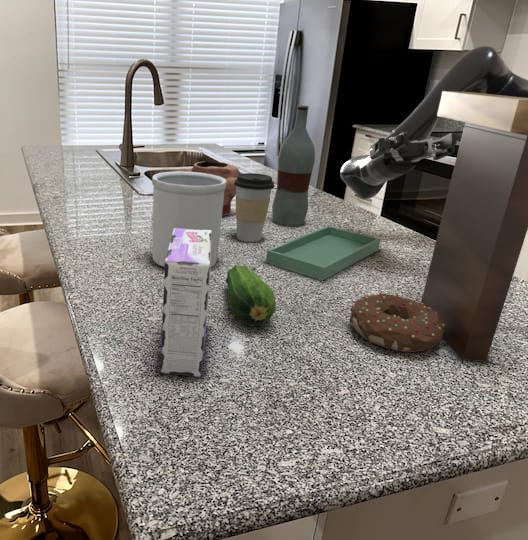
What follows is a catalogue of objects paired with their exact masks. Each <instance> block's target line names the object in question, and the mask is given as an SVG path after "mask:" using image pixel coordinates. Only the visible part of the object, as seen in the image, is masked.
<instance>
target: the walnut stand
mask: <svg viewBox="0 0 528 540" xmlns="http://www.w3.org/2000/svg"><path fill="white" fill-rule="evenodd" d="M527 233H528V133H517V132H507V131H503V130H498V129H494V128H489V127H484V126H480V125H475V124H471V123H466V122H464V126H463V130H462V135H461V138H460V141H459V146H458V150H457V155H456V159H455V161H454V167H453V171H452V175H451V179H450V183H449V186H448V191H447V195H446V199H445V203H444V207H443V211H442V215H441V219H440V223H439V227H438V232H437V236H436V239H435V242H434V243H435V245H434V247H433V252H432V256H431V259H430V264H429V267H428V272H427V276H426V279H425V285H424V289H423V293H422V296H421V300H420V303H423V305H426V306H427V307H430V308H431V310H433V311H435V312H437V314H438V315H439V317H440V319H441V320H442V322H443V324H444V328H445V330H444V333H443V337H442V340H443V341H445V343H446V344H447V345H448V346H449V347H450V349H452V350H453V351H454V353H456V355H457V356H458V357H459V359H461V360H462V361H474V362H487V360H488V357H489V353H490V351H491V347H492V345H493V344H492V343H493V341H494V338H495V334H496V332H497V328H498V325H499V321H500V318H501V316H502V312H503V310H504V306H505V304H506V300H507V297H508V294H509V291H510V287H511V285H512V281H513V277H514V274H515V271H516V267H517V265H518V261H519V258H520V255H521V252H522V249H523V245H524V242H525V239H526V236H527Z"/></svg>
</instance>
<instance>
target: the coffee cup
mask: <svg viewBox="0 0 528 540" xmlns="http://www.w3.org/2000/svg"><path fill="white" fill-rule="evenodd" d="M234 185H235V186H236V195H235V219H236V238H237V240H238V241H240V242H241V241H242V242H246V243H257V242H260V241H261V240H262V235H263V231H264V227H265V222H266V220H267V215H268V211H269V207H270V202H271V194H272V191H273V190H272V189H274V188H275V187H276V186H275V182H274V180H273V176H270V175H268V174H264V173H256V172H255V173H254V172H245V173H244V172H243V173H240V174H239V175H238V177H237V179H235V182H234Z"/></svg>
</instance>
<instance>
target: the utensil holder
mask: <svg viewBox="0 0 528 540" xmlns="http://www.w3.org/2000/svg"><path fill="white" fill-rule="evenodd" d="M151 183H152V186H153V189H152V190H153V193H152V195H153V196H152V234H151V235H152V236H151V237H152V239H151V240H152V241H151V242H152V243H151V244H152V246H151V247H152V248H151V249H152V251H151V252H152V253H151V254H152V256H151V257H152V260H153V262H154V263H155V264H157V265H158V266H160V267H162V268H165V259H166V255H167V252H168V248H169V244H170V241H171V237H172V233H173V230H174V228H182V229H201V230H211V231H212V239H211V268H212V267H214V266H215V265H216V264H217V260H218V255H219V254H218V253H219V247H220V246H219V245H220V239H221V227H222V218H223V216H222V210H223V201H224V190H225V188H226V183H227V181H226V179H224V178H222V177H219V176H216V175H211V174H206V173H198V172H185V171H178V170H176V171H175V170H174V171H164V172H158V173H155V174H153V175H152V177H151Z"/></svg>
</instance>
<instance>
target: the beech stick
mask: <svg viewBox="0 0 528 540" xmlns="http://www.w3.org/2000/svg"><path fill="white" fill-rule="evenodd" d="M437 116H439V117H440V118H443V119H448V120H453V121H458V122H460V123H461V122H462V123H465V122H466V123H471V124H475V125H480V126H484V127H489V128H494V129H498V130H503V131H507V132H517V133H528V98H522V97H512V96H502V95H493V94H483V93H473V92H455V91H442V96H441V100H440V105H439V109H438V114H437Z"/></svg>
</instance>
